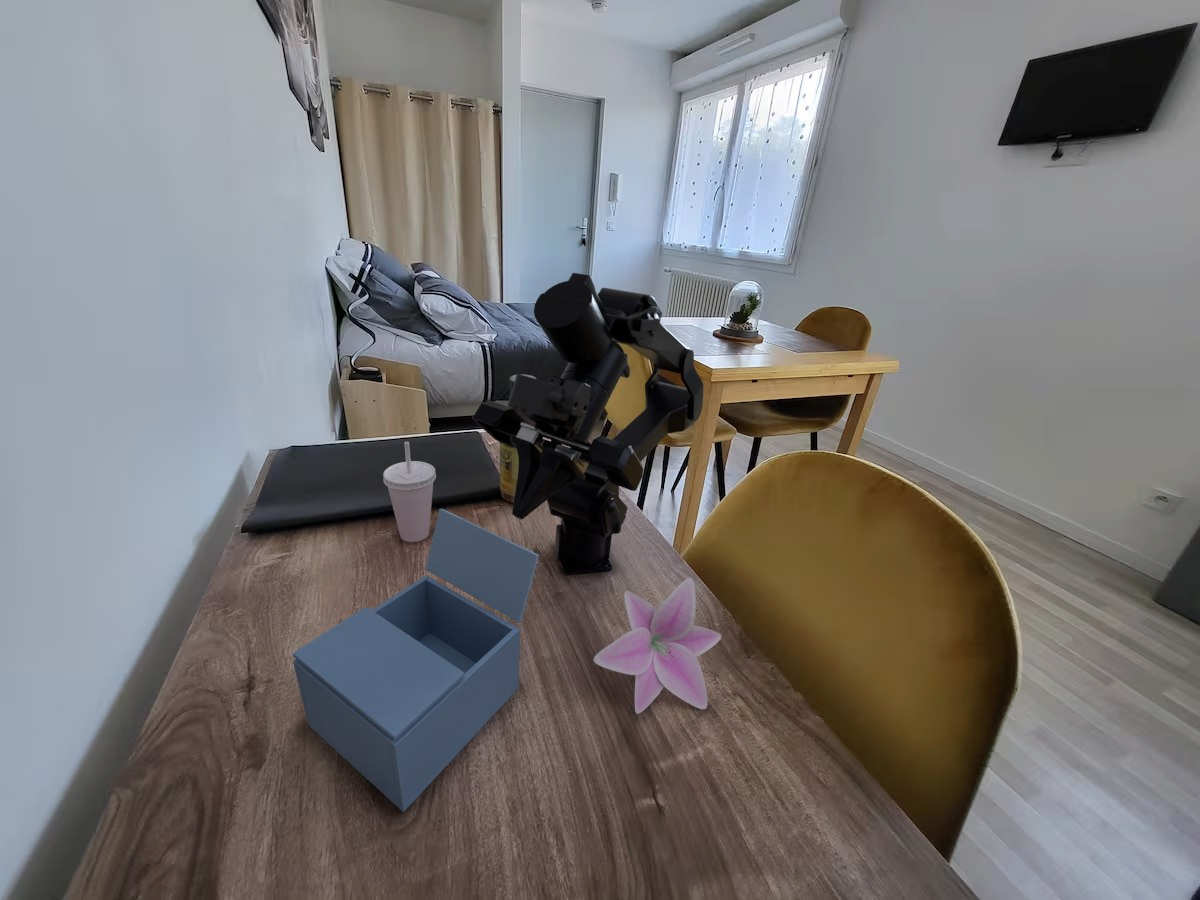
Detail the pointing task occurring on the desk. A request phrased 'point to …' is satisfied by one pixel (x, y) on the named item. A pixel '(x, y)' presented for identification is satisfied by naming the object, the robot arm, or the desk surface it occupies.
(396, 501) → the smoothie
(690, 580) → the lily
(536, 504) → the robot arm
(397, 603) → the carton
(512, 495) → the sauce bottle
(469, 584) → the flap
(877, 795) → the desk surface
